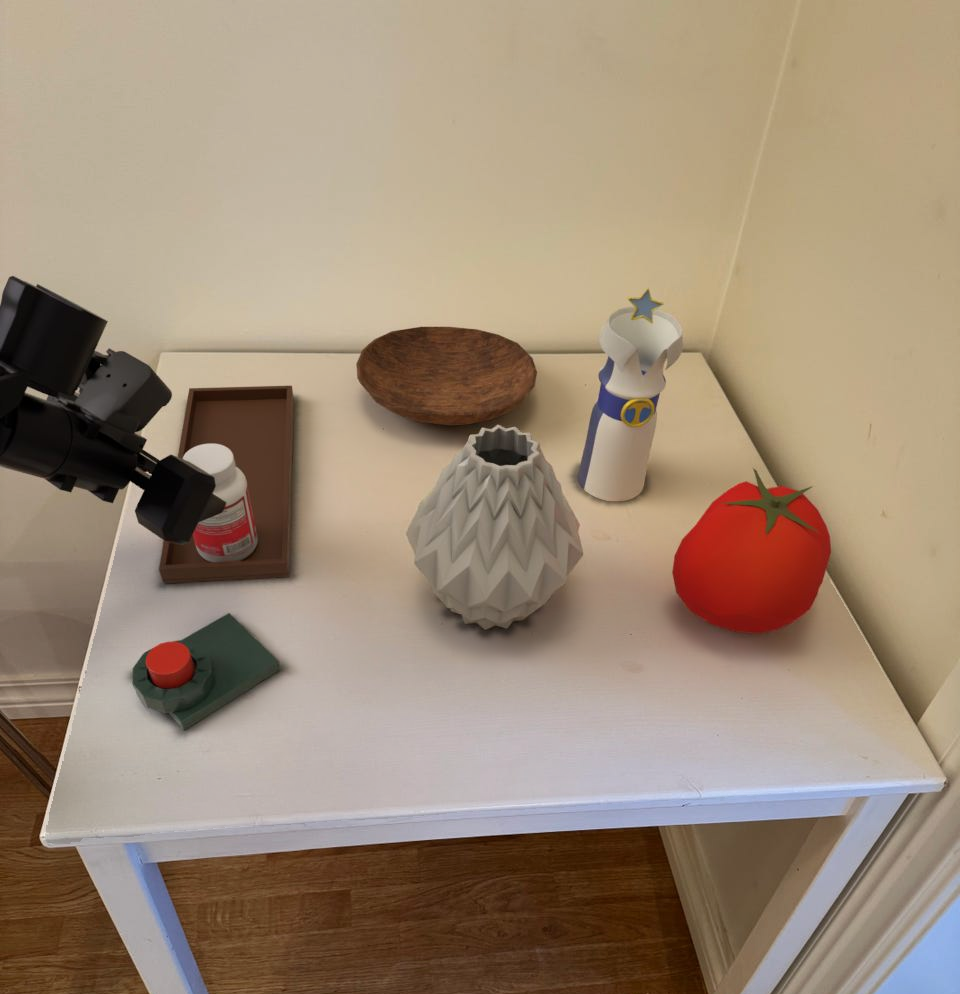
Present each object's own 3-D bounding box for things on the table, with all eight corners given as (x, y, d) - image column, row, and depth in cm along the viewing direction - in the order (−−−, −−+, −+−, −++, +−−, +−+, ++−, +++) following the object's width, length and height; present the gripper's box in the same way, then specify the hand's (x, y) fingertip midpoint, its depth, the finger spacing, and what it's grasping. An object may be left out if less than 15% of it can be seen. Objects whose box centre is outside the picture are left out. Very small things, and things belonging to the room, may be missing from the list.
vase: (387, 563, 88) (381, 409, 74) (533, 530, 92) (552, 379, 78) (439, 681, 78) (443, 529, 64) (600, 638, 82) (635, 487, 69)
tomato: (756, 548, 92) (798, 444, 82) (835, 640, 84) (892, 536, 74) (628, 580, 88) (656, 474, 78) (697, 681, 79) (738, 576, 69)
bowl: (536, 453, 101) (540, 418, 98) (350, 445, 101) (347, 409, 97) (530, 363, 115) (534, 329, 111) (365, 355, 114) (363, 320, 110)
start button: (165, 696, 72) (160, 681, 71) (143, 671, 74) (137, 656, 72) (202, 673, 74) (198, 658, 72) (180, 650, 76) (175, 634, 74)
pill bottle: (213, 520, 90) (192, 433, 82) (268, 532, 89) (252, 445, 81) (185, 559, 86) (161, 471, 78) (243, 572, 85) (223, 484, 77)
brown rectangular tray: (289, 576, 86) (287, 562, 84) (163, 583, 84) (158, 569, 83) (293, 399, 106) (291, 385, 105) (192, 402, 105) (189, 388, 103)
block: (170, 739, 72) (162, 718, 70) (122, 683, 76) (113, 662, 74) (281, 669, 78) (276, 648, 76) (231, 620, 81) (225, 599, 79)
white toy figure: (658, 501, 97) (715, 289, 78) (585, 505, 95) (625, 292, 77) (638, 456, 102) (687, 248, 83) (569, 460, 101) (603, 250, 82)
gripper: (170, 390, 60) (300, 448, 75) (15, 300, 67) (160, 369, 82) (105, 530, 62) (244, 560, 76) (-40, 427, 69) (112, 473, 83)
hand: (189, 485), depth 79 cm, fingers open, 9 cm apart
